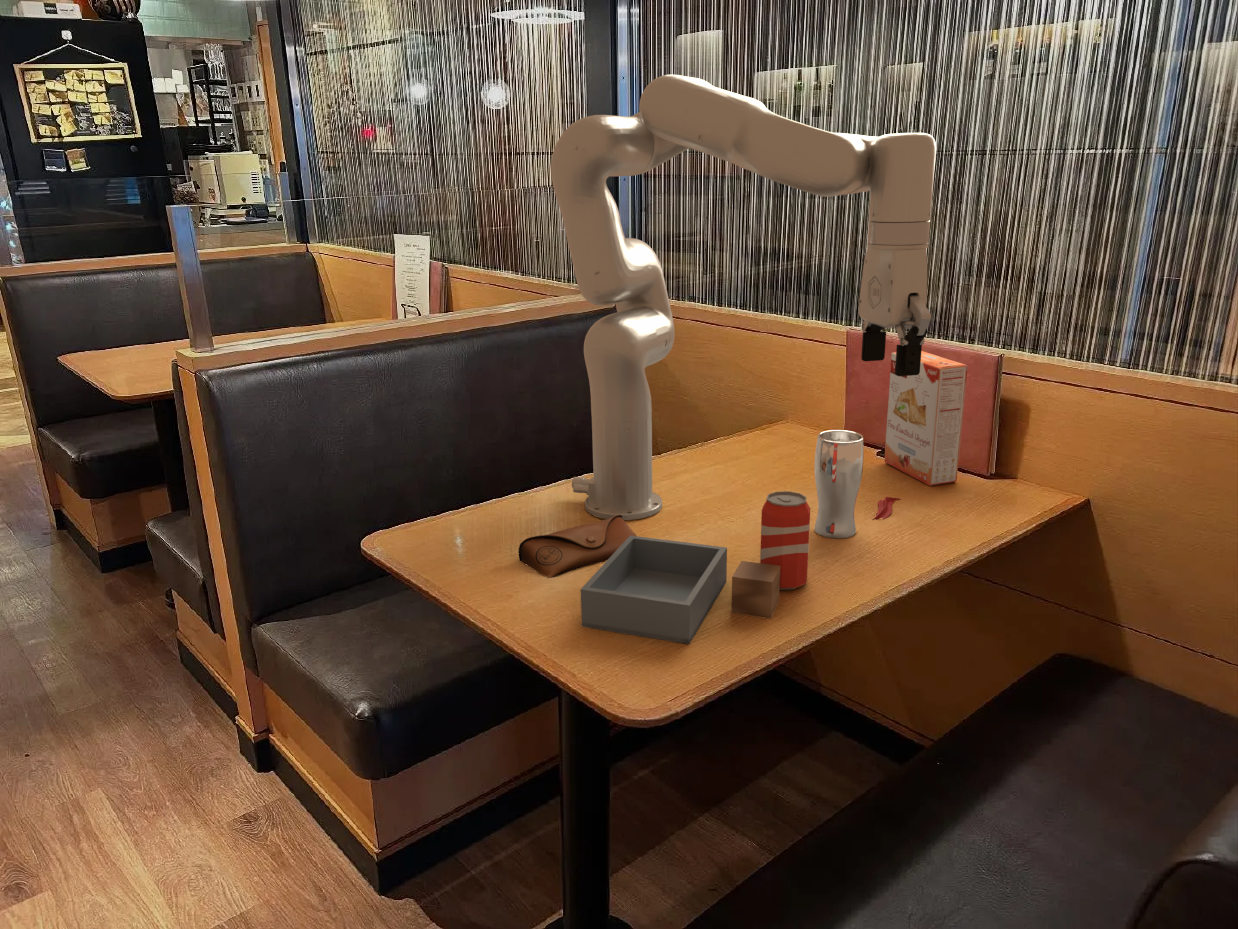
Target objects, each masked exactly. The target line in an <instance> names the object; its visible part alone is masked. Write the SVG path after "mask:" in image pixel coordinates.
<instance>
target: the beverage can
mask: <svg viewBox="0 0 1238 929" xmlns="http://www.w3.org/2000/svg"><path fill="white" fill-rule="evenodd" d="M807 498H808V497H807V496H805V495H804V494H802V493H800V492H795V491H789V490H784V491H783V490H782V491H774V492H771V493H768V494H767V496H766V498H765V499H766V501H765V502H764V504H763V506H762V508H761V519H760V520H761V523H760V524H761V525H760V555H759V556H760V559H759V563H763V564H770V565H778V566H780V589H779V591H790V590H791V591H792V590H795V589H797V588H799V587H801V586H803V585H806V584H807V583H808V582H807V581H808V566H809V552H810V551H809V550H810V529H811V528H810V525H811V507H810V505H809V503H808V501H807Z"/></svg>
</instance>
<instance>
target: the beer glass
mask: <svg viewBox="0 0 1238 929" xmlns="http://www.w3.org/2000/svg"><path fill="white" fill-rule="evenodd" d="M816 435H817V439H816V445H815V446H816V447H815V453H814V454H815V455H814V479H815V487H816V488H815V489H816V496H817V506H818V507H817V514H816V515H817V516H816V521H815V525H814V532H815V533H816V534H817V535H818V534H819V536H820V535H821V536H820V537H823V536H824V537H823V538H826V537H827V539H832V538H833V539H836V540H844V539H849V538H851V536H852V537H853V536H855V535H856V533H857V528H856V527H857V526H856V522H855V521H856V520H855V510H856V509H855V508H856V502H857V498H858V495H859V494H858V493H859V490H860V487H861V482H862V477H863V472H864V435H863V434H861V433H859V432H855V431H851V430H842V429H830V430H824V431H822V432H819V433H818V434H816ZM854 534H855V535H854ZM843 538H844V539H843Z"/></svg>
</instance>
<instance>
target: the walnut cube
mask: <svg viewBox="0 0 1238 929" xmlns="http://www.w3.org/2000/svg"><path fill="white" fill-rule="evenodd" d="M779 589H780V566H778V565H770V564H763V563H760V562H754V561H753V562H752V561H746V560H741V561H740V563H739V564H738V566H737V567H736V569H735V570H734V573H733V574H732V576H731V603H730V604H731V605H730V606H731V611H730V613H731V614H737V615H738V614H739V615H745V616H750V617H759V618H765V619H772V617H773V615H774V614H775V610H776V609H777V606H778V604H779V602H780V590H779Z"/></svg>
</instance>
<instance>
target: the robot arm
mask: <svg viewBox="0 0 1238 929" xmlns="http://www.w3.org/2000/svg"><path fill="white" fill-rule="evenodd" d="M638 110H639V112H637V113H634V114H633V115H631V116H624V115H613V114H610V115H609V114H593V115H588V116H585V117H582V118H580V119H578V120H576V121H574V122H573V123H571V124H570V125H569V126H568V127H566V129H565V130H564V131H563V133H561V135H560V136H559V138H558V140H557V141H556V143H555V146H554V150H553V153H552V156H551V161H550V162H551V164H550V173H551V174H550V176H551V182H552V186H553V191H554V194H555V198H556V201H557V203H558V209H559V210H560V214H561V217H562V221H563V226H564V231H565V236H566V240H567V245H568V250H569V253H570V254H569V255H570V257H571V262H572V267H573V271H574V275H575V279H576V283H577V286H578V289H579V292H580V294H581V296H582V297H583V298H584V300H586V302H588V303H590V304H592V305H595V306H599V307H601V306H603V307H604V306H611V305H615V307H616V311H617V312H614V313H611V314H608V315H605V316H603V317H601V318H600V319H598V320H597V321H595V322H594V323H593V324H592V326H590V328H589V329H588V331H587V333H586V334H585V338H584V341H583V342H584V343H583V356H584V361H585V366H586V371H587V377H588V383H589V391H590V392H589V393H590V411H591V430H592V431H591V432H592V433H591V434H592V436H591V437H592V465H593V466H592V467H593V471H592V472H593V476H592V477H591V478H585V477H580V476H579V477H578V476H573V477H572V480H571V487H572V491H573V493H575V494H576V493H577V494H586V495H587V497H586V498H585V501H584V509H585V511H586V512H587V513H589V514H590V515H592V516H594V517H597V518H600V519H603V520H606V519H609V518H612V517H613V516H616V515H622V519H623V520H624V521H630V520H631V521H632V520H640V519H644V518H645V519H646V518H647V517H652V516H654V515H656V513H659V512H660V511H661V509H662V508H663V498H662V497H661V496H660V495H659V494H657V493H656V492H655V491H653V427H652V426H653V425H652V424H653V423H652V420H653V419H652V418H653V417H652V416H653V415H652V414H653V413H652V407H653V406H652V395H651V389H650V386H649V383H648V379H647V375H646V370H645V369H646V368H647V367H650V366H652V365H654V364H656V363H659V362H660V361H662V360H663V359H665V358H666V357H667V356H668V354H670V353H671V351H672V349H673V346H674V342H675V332H676V331H675V323H674V318H673V313H672V308H671V303H670V299H669V296H668V295H669V294H668V290H667V286H666V281H665V276H664V273H663V267H662V265H661V262H660V259H659V257H658V256H657V254H656V253H655V251H654V250H653V248H651V246H650V245H649V244H647V242H645V241H642V240H640V239H638V238H634V237H626V236H625V234H624V230H623V227H622V221H621V216H620V211H619V208H618V205H617V203H616V200H615V199H614V197H613V194H612V193H611V192H610V189H609V188H608V185H607V179H609V177H632V176H638V175H642V174H645V173H647V172H649V171H651V170H653V169H655V168H657V167H659V166H660V165H662V164H664V163H666V162H667V161H669V160H671V159H672V158H675V157H676V156H678V155H680V154H682V153H684V152H685V151H688V150H689V149H692V150H694V151H696V152H699V153H703V154H706V155H709V156H712V157H714V158H717V159H720V160H723V161H725V162H728V163H731V164H733V165H736V166H737V167H739V168H741V169H744V170H747V171H750V172H752V173H753V174H756V175H758V176H760V177H762V178H765V179H768V180H770V181H773V182H776V183H779V184H782V185H784V186H788V187H790V188H793V189H796V190H799V191H801V192H804V193H808V194H811V195H814V196H819V197H825V198H826V197H827V198H829V197H835V196H845V195H851V194H859V193H866V192H870V193H869V210H868V211H869V212H868V228H867V231H868V232H867V245H866V247H867V248H866V253H865V258H864V262H863V267H862V268H863V269H862V276H861V283H860V293H859V303H858V315H859V317H860V318H861V320H862V322H861V331H862V337H861V338H862V339H861V340H862V342H861V343H862V344H861V357H860V358H861V361H863V362H875V361H876V362H877V361H878V362H879V361H880V362H881V361H884V360H885V355H886V342H887V340H886V339H887V331H886V330H884V329H893V328H894V327H895V330H896V333H897V336H898V340H899V343H900V344H896V351H895V352H896V363H895V375H897V376H912V375H918V374H919V373H920V363H921V351H923V350H922V348H923V346H924V344H925V337H926V336H927V334H928V329H929V325H930V322H931V320H932V314H931V312H930V311H929V309H928V308H927V295H928V294H927V291H928V290H927V288H928V261H927V260H928V258H927V256H928V255H927V248H929V242H930V240H929V239H930V229H931V228H930V227H931V217H932V203H933V190H934V177H935V176H934V174H935V164H936V151H937V148H936V147H937V144H936V140H935V138H934V137H933V136H932V134H929V133H926V132H900V133H899V132H897V133H888V134H882V135H880V136H873V135H872V136H871V135H864V134H863V135H862V134H854V133H847V132H846V133H845V132H844V133H843V132H832V131H828V130H824V129H821V128H817V127H814V126H811V125H808V124H806V123H801V122H799V121H795V120H793V119H789V118H787V117H784V116H781V115H779V114H777V113H774V112H772V111H771V110H770V109H768V108H767V107H766V106H765V104H764V103H763V102H762V101H760V100H758V99H756V98H753V97H750V96H745V95H742V94H739V93H736V92H732V91H729V90H726V89H722V88H720V87H716V86H714V85H712V84H711V83H710V82H708V81H706V80H704V79H702V78H699V77H692V76H686V75H681V74H664V75H661V76H658V77H656V78H655V79H653V80H652V81H650V82H649V83H648V84H647V86H646V87H645V88H644V90H643V91H642V93H641V96H640V99H639V108H638ZM906 330H909V331H908V332H907V331H906Z"/></svg>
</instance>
